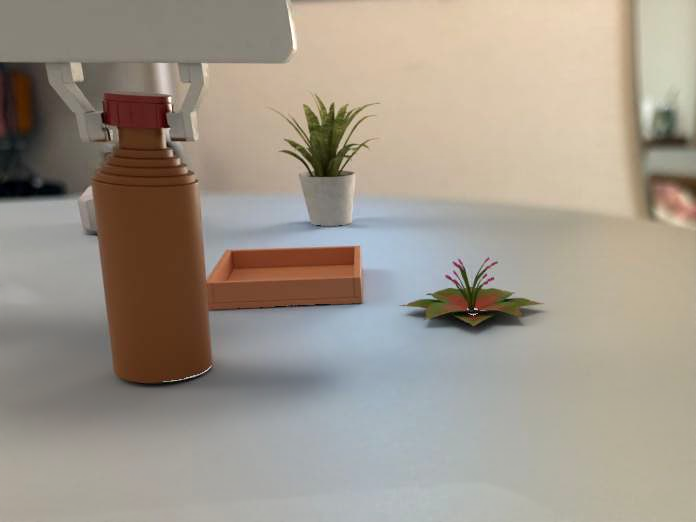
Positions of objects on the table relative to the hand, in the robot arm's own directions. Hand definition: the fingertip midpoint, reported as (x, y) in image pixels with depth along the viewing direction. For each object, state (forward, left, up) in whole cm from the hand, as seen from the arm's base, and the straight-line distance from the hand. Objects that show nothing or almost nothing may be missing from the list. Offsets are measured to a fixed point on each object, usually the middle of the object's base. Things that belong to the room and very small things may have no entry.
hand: (142, 141), depth 54 cm
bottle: (-1, 0, -15) cm, 15 cm away
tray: (+6, +22, -16) cm, 28 cm away
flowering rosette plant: (+22, +11, -16) cm, 29 cm away
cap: (0, 0, +2) cm, 2 cm away
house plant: (+10, +54, -16) cm, 57 cm away
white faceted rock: (-16, +53, -16) cm, 58 cm away
